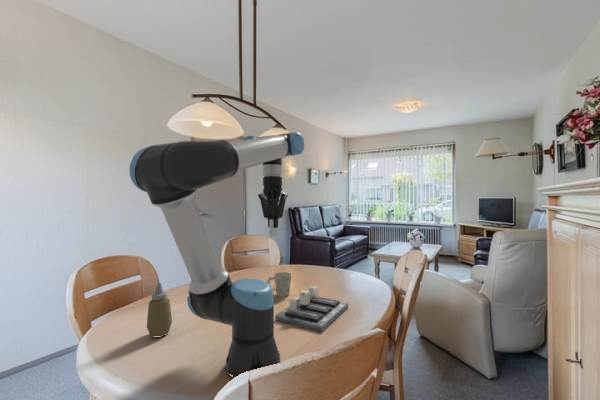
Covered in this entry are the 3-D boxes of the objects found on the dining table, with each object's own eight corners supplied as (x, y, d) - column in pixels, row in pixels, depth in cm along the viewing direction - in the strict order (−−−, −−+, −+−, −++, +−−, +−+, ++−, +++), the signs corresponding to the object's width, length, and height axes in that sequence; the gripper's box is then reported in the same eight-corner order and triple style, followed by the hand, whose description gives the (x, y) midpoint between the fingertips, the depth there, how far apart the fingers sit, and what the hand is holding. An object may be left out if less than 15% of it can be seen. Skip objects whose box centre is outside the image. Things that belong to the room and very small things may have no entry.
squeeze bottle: (165, 327, 108) (165, 278, 107) (176, 333, 102) (176, 282, 102) (142, 335, 101) (141, 283, 101) (153, 342, 96) (152, 288, 96)
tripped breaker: (306, 305, 119) (306, 292, 119) (300, 304, 120) (299, 291, 120) (309, 303, 121) (309, 290, 121) (303, 301, 123) (303, 289, 123)
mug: (289, 298, 138) (289, 276, 138) (263, 296, 140) (263, 275, 140) (293, 292, 146) (293, 272, 146) (269, 291, 148) (269, 271, 148)
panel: (322, 331, 103) (321, 309, 102) (275, 320, 113) (275, 299, 112) (348, 307, 125) (348, 288, 125) (307, 299, 135) (307, 282, 135)
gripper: (291, 176, 115) (292, 235, 115) (265, 177, 121) (265, 234, 122) (281, 174, 108) (281, 238, 109) (253, 176, 115) (254, 236, 115)
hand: (273, 235), depth 115 cm, fingers closed
